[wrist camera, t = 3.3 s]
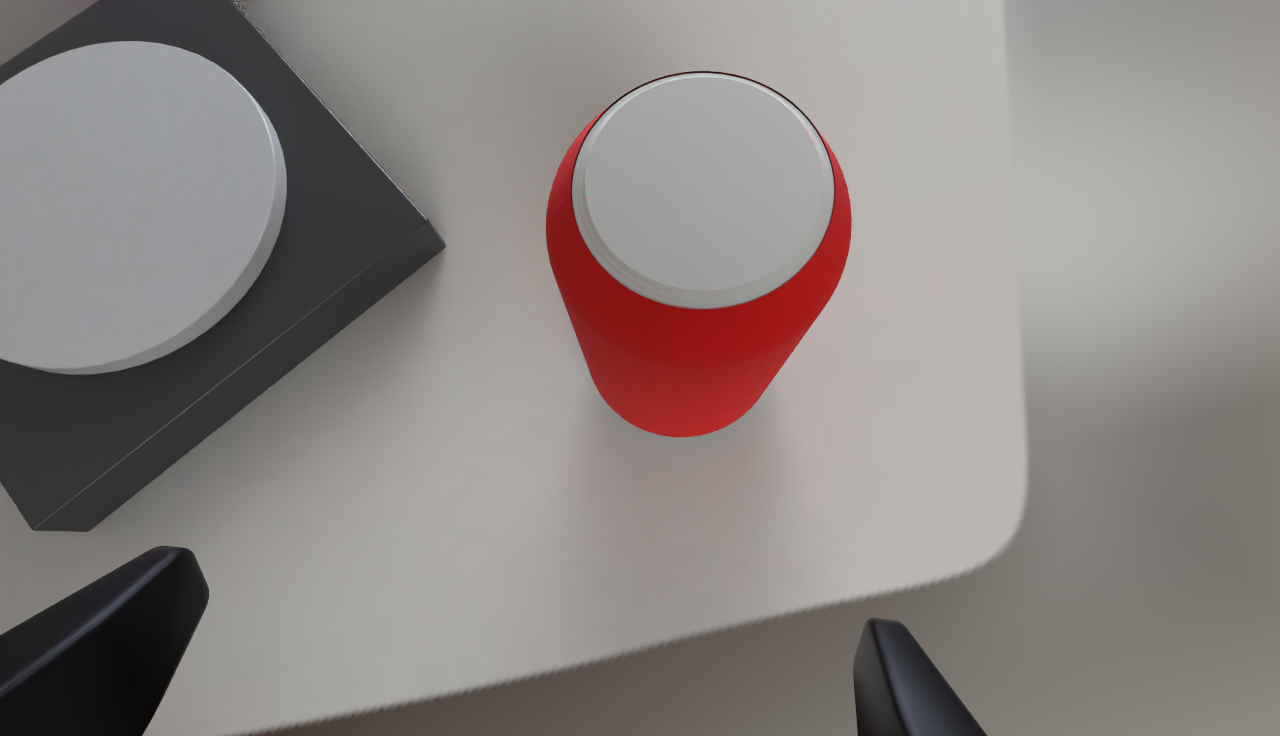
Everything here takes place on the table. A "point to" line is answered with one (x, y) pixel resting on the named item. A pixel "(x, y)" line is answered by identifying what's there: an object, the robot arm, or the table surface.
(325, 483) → the table surface
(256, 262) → the scale
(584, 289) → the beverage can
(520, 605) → the table surface
